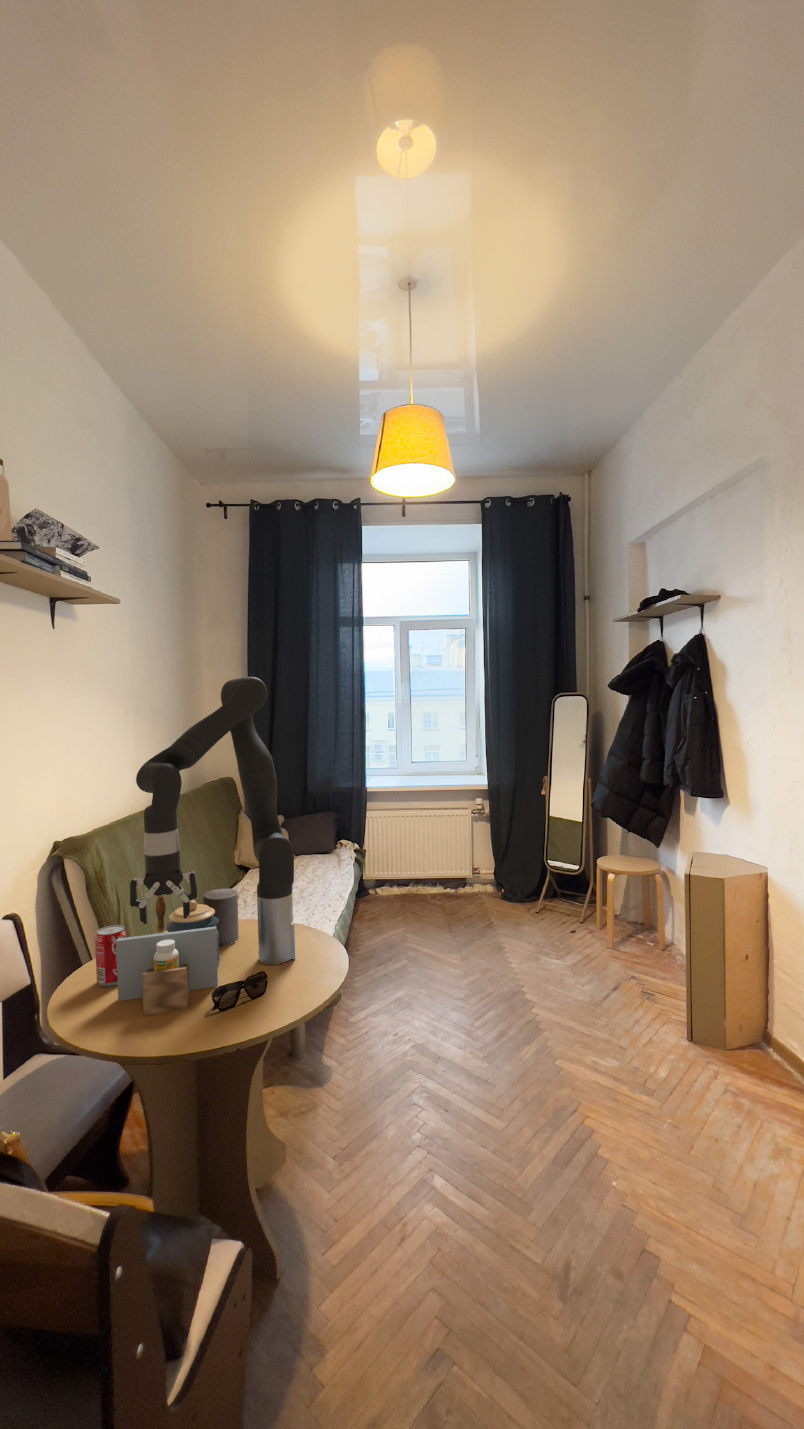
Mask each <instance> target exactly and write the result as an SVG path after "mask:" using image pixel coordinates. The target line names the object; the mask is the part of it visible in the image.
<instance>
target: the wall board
mask: <svg viewBox="0 0 804 1429" xmlns="http://www.w3.org/2000/svg"><path fill="white" fill-rule="evenodd" d="M167 932H168V931H167ZM163 940H174V941H175V949H176V950H177V951H178V953H179V968H182V967H184V964H188V966H189V991H195V990H202V989H208V988H215V987H219V981H218V980H219V977H218V976H219V975H218V967H217V941H216V927H208V928H200V929H192V930H184V931H176V932H168V933H160V934H155V933H152V934H145V935H138V936H137V935H135V936H129V937H128V936H127V938H120V939H117V940H116V950H117V979H118V985H117V998H118V999H117V1001H118V1002H122V1001H123V1002H124V1001H129V1000H136V999H143V973H146V972H147V970H148V969H152V972H153V971H154V955H155V953H156V952H157V950H156V944H157V943H158V942H160V941H163Z"/></svg>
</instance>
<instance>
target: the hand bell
mask: <svg viewBox="0 0 804 1429" xmlns="http://www.w3.org/2000/svg"><path fill="white" fill-rule="evenodd" d="M166 906H167V905H166V902H165V898H164V895H161V896H157V899H156V902H155V914H156V919H157V931H156V932H155V933H154V934H160V933H168V931H167V930H165V921H164V920H165V914H166V912H167V911H166V909H167V908H166Z"/></svg>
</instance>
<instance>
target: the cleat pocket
mask: <svg viewBox="0 0 804 1429" xmlns="http://www.w3.org/2000/svg"><path fill="white" fill-rule="evenodd" d="M189 995H190V990H189V966H188V964H184V967H182V968H175V969H168V970H160V971H153V972H152V969H148V970H147V972H146V973H143V998H142V999H143V1016H149V1015H156V1014H162V1013H166V1012H167V1013H168V1012H173V1011H181V1010H186V1009H187V1010H188V1006H189V997H190V996H189Z"/></svg>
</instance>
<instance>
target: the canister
mask: <svg viewBox="0 0 804 1429" xmlns="http://www.w3.org/2000/svg"><path fill="white" fill-rule="evenodd" d="M214 913H215V910H214V909H213V908H211V907H209V906H207V905H204V904H202V903H197V901H196V900H194V899H192V900H190V914H189V916H187V918H186V919H184V916H183V906H180V907H177V908H176V909H175V910H174V911H173V912H171V913H170V914H169V915H168V920H169V922H167V923H166V924H165V931H166V932H176V931H184V930H192V929H200V928H208V927H216V941H217V968H218V967H219V966H220V959H221V958H220V956H221V954H220V947H219V940H218V935H219V931H218V930H217V923H218V921H219V919H218V918H217V917H216V916H214Z"/></svg>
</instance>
